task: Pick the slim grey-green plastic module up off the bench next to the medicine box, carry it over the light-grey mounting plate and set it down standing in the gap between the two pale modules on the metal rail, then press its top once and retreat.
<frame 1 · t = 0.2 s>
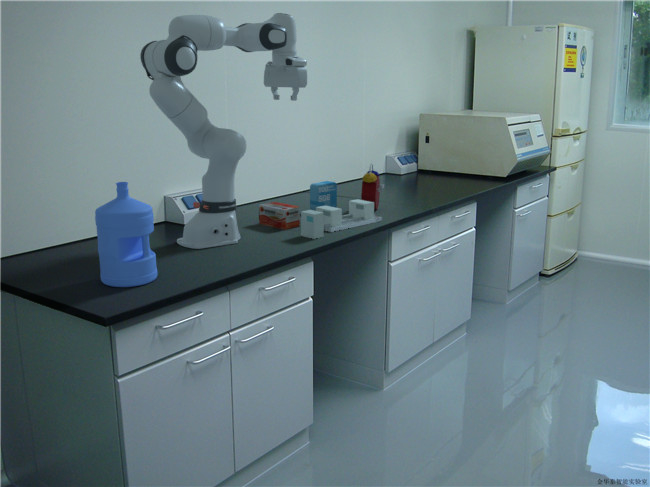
hand: (285, 100, 242), 47 cm above the lab bench, tool pointing down, fingers open, 8 cm apart
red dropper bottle: (373, 210, 282), on the lab bench
water jug: (129, 280, 189), on the lab bench
medicine box: (279, 226, 255), on the lab bench
blue printed box: (323, 211, 281), on the lab bench
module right: (361, 220, 263), resting on din rail
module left: (328, 227, 251), resting on din rail
din rail: (345, 223, 257), on the lab bench
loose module: (312, 236, 238), on the lab bench
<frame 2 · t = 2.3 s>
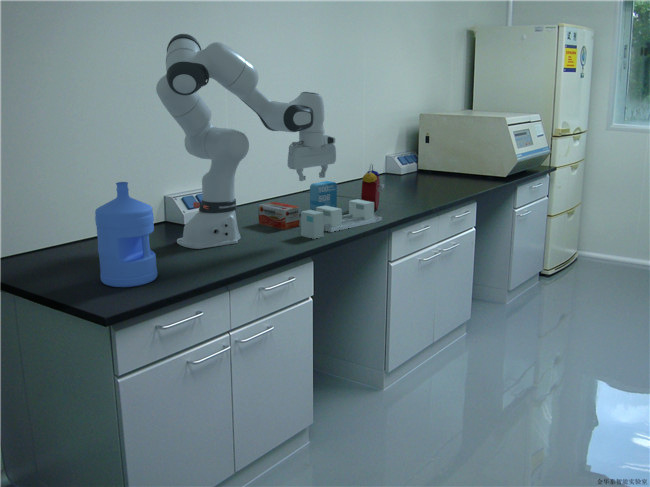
hand: (312, 179, 232), 21 cm above the lab bench, tool pointing down, fingers open, 8 cm apart
nothing on the lab bench moved.
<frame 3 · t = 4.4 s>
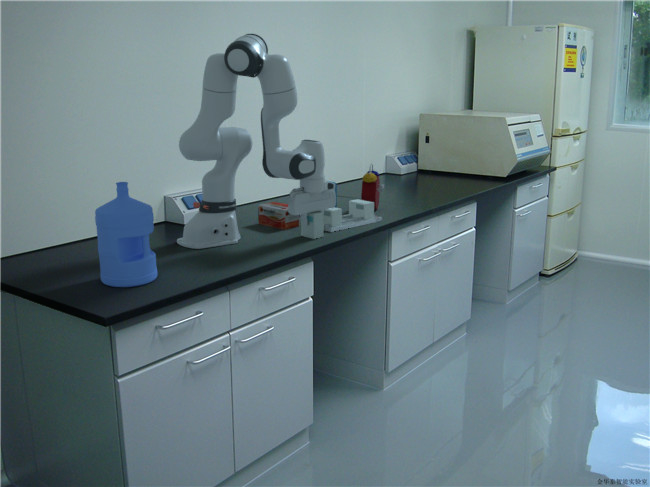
hand: (312, 223, 236), 5 cm above the lab bench, tool pointing down, fingers closed on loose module, 5 cm apart
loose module: (312, 236, 238), on the lab bench, touching gripper
everything else where it was.
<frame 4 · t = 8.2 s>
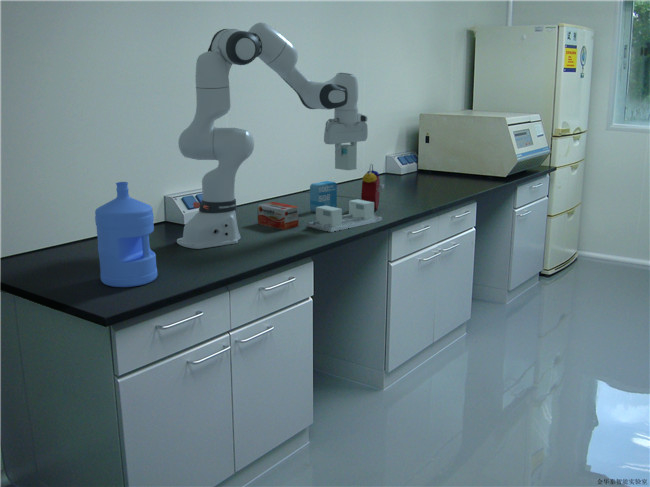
hand: (345, 154, 250), 27 cm above the lab bench, tool pointing down, fingers closed on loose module, 5 cm apart
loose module: (345, 168, 252), point 21 cm above the lab bench, touching gripper
everything else where it was.
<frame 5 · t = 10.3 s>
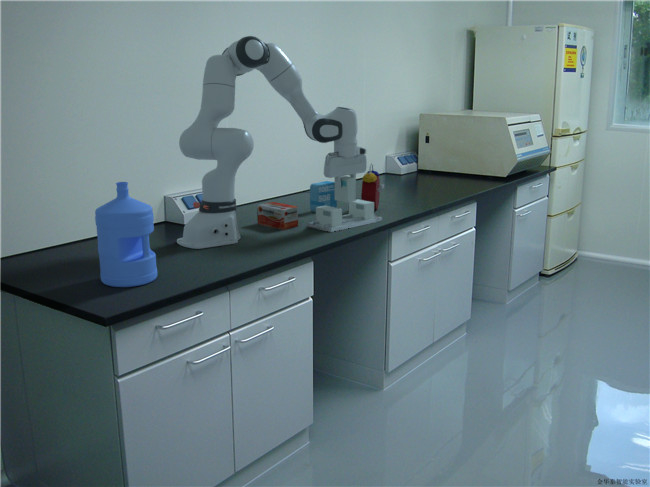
hand: (345, 186, 254), 15 cm above the lab bench, tool pointing down, fingers closed on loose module, 5 cm apart
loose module: (345, 200, 255), point 9 cm above the lab bench, touching gripper
everything else where it was.
when the fingers open (8 cm above the lab bench, at t = 12.0 s): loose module stays where it is, resting on din rail.
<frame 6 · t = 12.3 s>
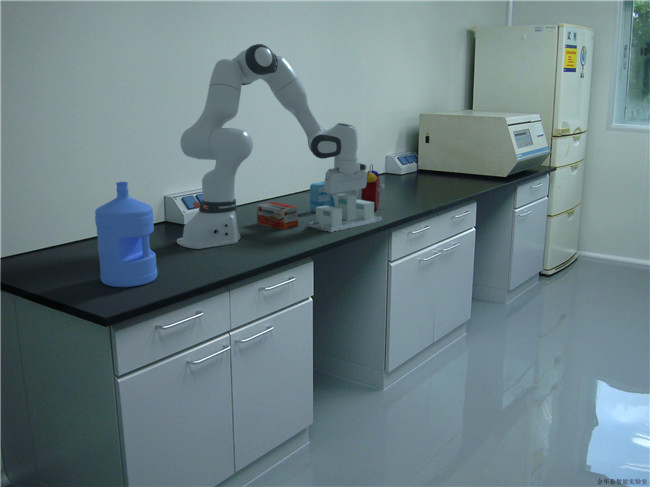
hand: (345, 202, 255), 8 cm above the lab bench, tool pointing down, fingers open, 8 cm apart
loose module: (345, 218, 257), point 2 cm above the lab bench, touching din rail
everything else where it was.
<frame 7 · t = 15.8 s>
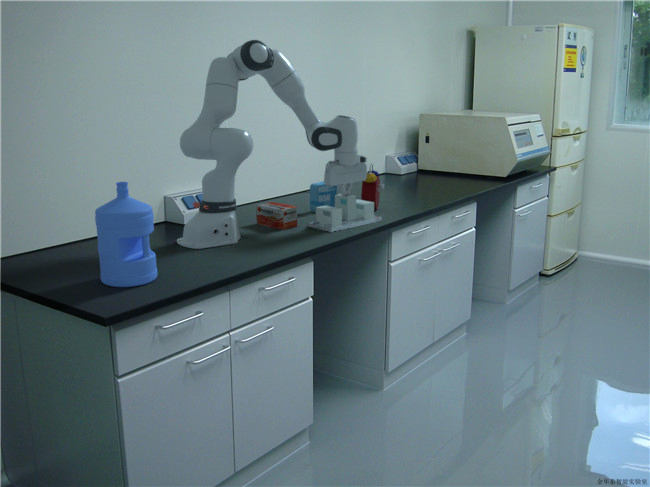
hand: (345, 194, 254), 11 cm above the lab bench, tool pointing down, fingers closed
nothing on the lab bench moved.
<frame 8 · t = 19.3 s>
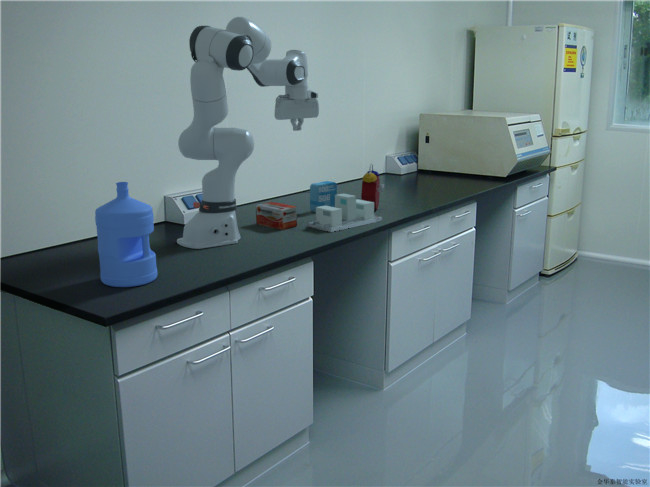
hand: (297, 130, 258), 35 cm above the lab bench, tool pointing down, fingers closed
at the end: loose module inside the target area (0.1 cm from its centre), point 2.2 cm above the lab bench; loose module tilted 0°; the gripper is holding nothing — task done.
